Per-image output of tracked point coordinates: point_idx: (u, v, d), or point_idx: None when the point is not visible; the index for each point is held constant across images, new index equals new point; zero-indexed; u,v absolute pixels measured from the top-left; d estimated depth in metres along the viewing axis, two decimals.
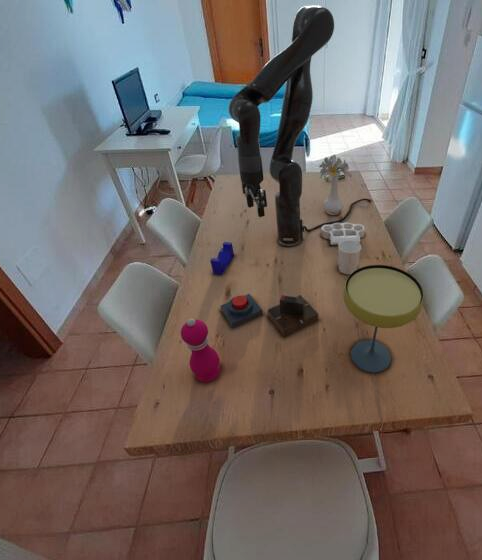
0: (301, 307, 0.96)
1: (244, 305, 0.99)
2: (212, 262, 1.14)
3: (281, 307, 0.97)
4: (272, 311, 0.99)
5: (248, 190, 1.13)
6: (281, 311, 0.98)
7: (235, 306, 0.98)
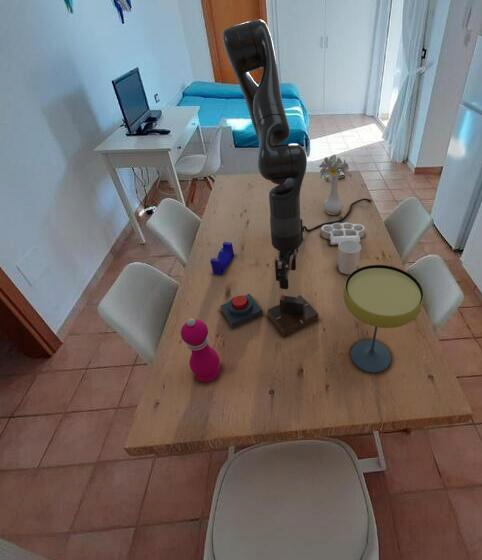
0: (301, 307, 0.96)
1: (244, 305, 0.99)
2: (212, 262, 1.14)
3: (281, 307, 0.97)
4: (272, 311, 0.99)
5: None
6: (281, 311, 0.98)
7: (235, 306, 0.98)
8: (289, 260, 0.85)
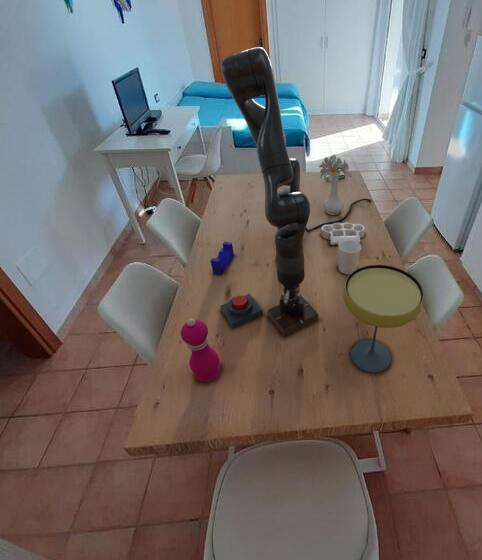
0: (301, 307, 0.96)
1: (244, 305, 0.99)
2: (212, 262, 1.14)
3: (281, 307, 0.97)
4: (272, 311, 0.99)
5: None
6: (281, 311, 0.98)
7: (235, 306, 0.98)
8: (294, 294, 0.91)
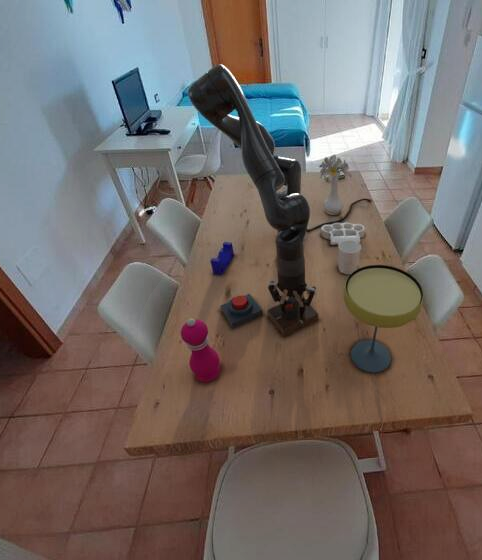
0: None
1: (244, 305, 0.99)
2: (212, 262, 1.14)
3: (293, 313, 0.95)
4: (272, 311, 0.99)
5: (287, 292, 0.93)
6: (293, 318, 0.96)
7: (235, 306, 0.98)
8: None
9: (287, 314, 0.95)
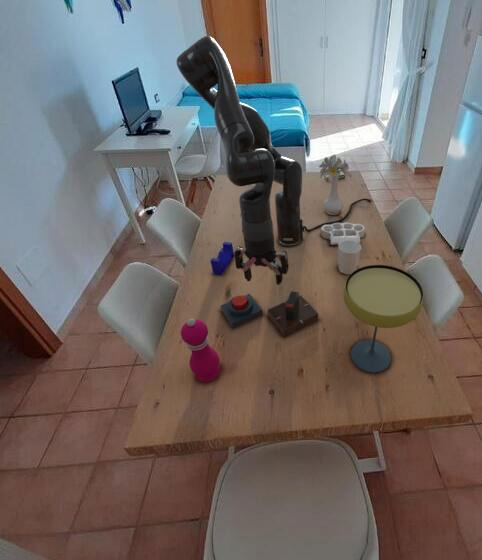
0: (298, 296, 0.99)
1: (244, 305, 0.99)
2: (212, 262, 1.14)
3: (293, 313, 0.95)
4: (272, 311, 0.99)
5: (254, 261, 0.87)
6: (293, 318, 0.96)
7: (235, 306, 0.98)
8: None
9: (287, 314, 0.95)
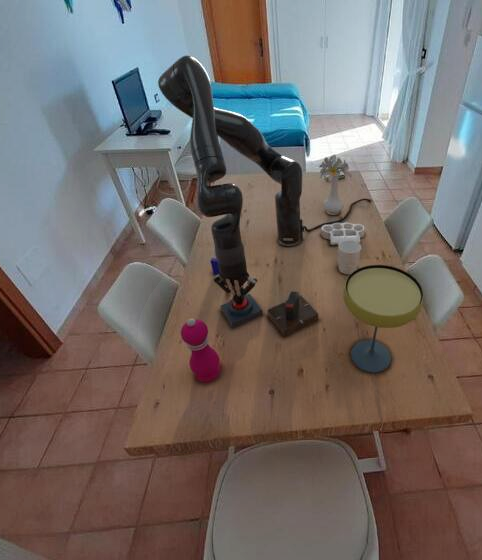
0: (298, 296, 0.99)
1: (244, 307, 0.99)
2: (212, 262, 1.14)
3: (293, 313, 0.95)
4: (272, 311, 0.99)
5: (231, 282, 0.93)
6: (293, 318, 0.96)
7: (235, 308, 0.99)
8: None
9: (287, 314, 0.95)
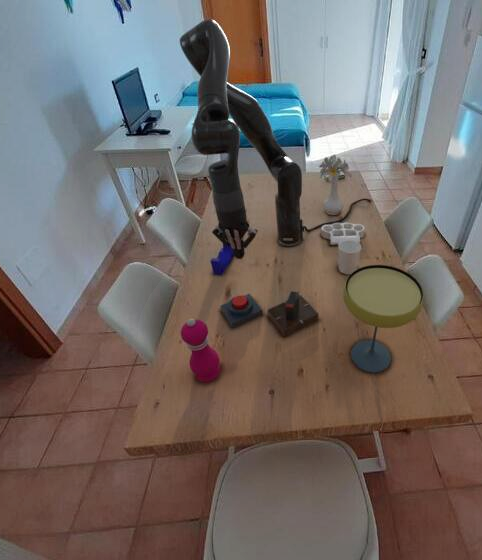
0: (298, 296, 0.99)
1: (244, 305, 0.99)
2: (212, 262, 1.14)
3: (293, 313, 0.95)
4: (272, 311, 0.99)
5: (231, 233, 0.90)
6: (293, 318, 0.96)
7: (235, 306, 0.98)
8: None
9: (287, 314, 0.95)
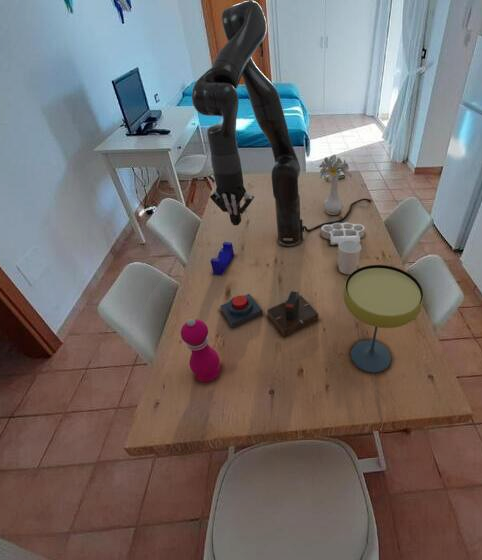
0: (298, 296, 0.99)
1: (244, 305, 0.99)
2: (212, 262, 1.14)
3: (293, 313, 0.95)
4: (272, 311, 0.99)
5: (228, 198, 0.93)
6: (293, 318, 0.96)
7: (235, 306, 0.98)
8: None
9: (287, 314, 0.95)
